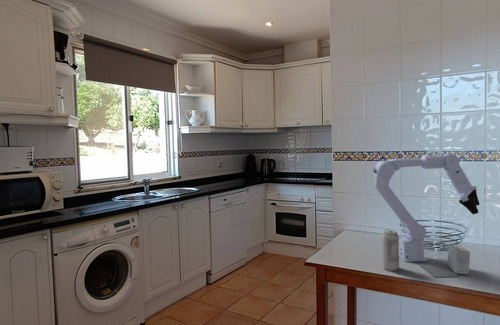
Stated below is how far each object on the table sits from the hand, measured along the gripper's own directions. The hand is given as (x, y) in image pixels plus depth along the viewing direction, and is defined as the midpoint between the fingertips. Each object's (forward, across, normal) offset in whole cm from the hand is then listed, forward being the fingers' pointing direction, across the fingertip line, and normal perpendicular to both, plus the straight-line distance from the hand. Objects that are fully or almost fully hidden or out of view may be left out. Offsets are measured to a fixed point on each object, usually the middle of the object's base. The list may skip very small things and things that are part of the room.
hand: (476, 209), depth 132 cm
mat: (+9, -26, +16) cm, 32 cm away
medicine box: (+12, -22, +11) cm, 28 cm away
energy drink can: (+2, -33, +29) cm, 44 cm away
